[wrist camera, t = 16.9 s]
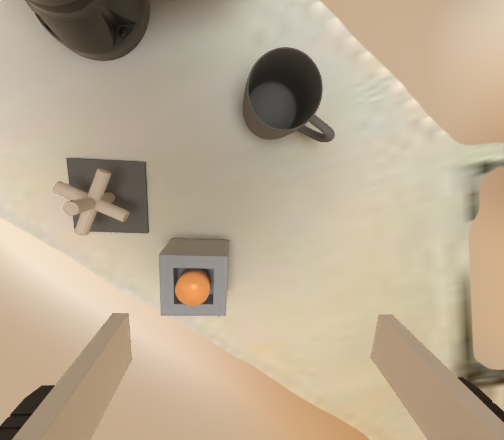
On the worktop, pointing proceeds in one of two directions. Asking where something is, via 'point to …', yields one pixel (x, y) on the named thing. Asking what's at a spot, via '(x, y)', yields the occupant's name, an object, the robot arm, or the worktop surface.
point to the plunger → (193, 287)
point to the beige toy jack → (90, 202)
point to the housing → (194, 256)
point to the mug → (284, 96)
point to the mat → (114, 192)
